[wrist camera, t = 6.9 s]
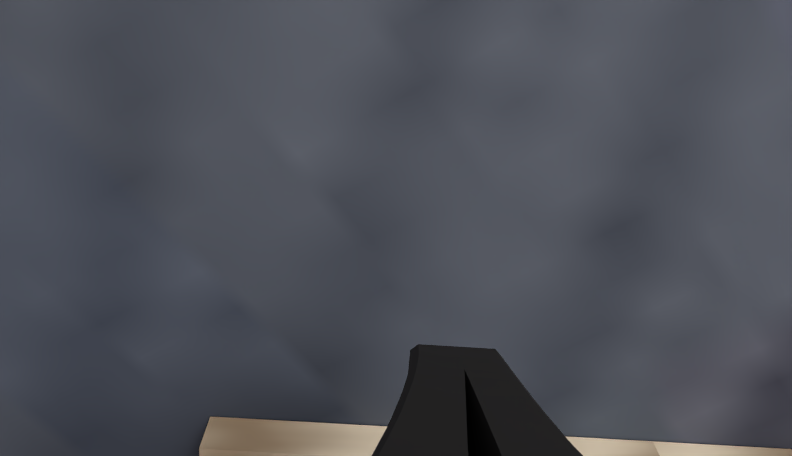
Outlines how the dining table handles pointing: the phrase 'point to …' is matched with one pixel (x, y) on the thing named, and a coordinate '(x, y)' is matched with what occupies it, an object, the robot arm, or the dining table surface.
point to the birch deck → (354, 444)
